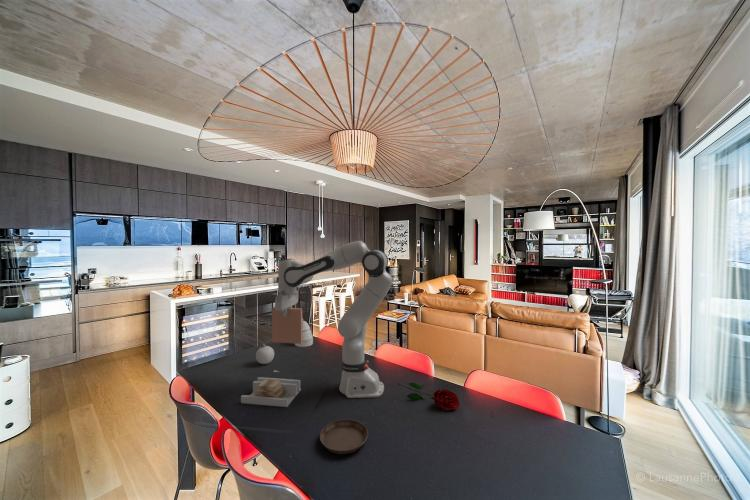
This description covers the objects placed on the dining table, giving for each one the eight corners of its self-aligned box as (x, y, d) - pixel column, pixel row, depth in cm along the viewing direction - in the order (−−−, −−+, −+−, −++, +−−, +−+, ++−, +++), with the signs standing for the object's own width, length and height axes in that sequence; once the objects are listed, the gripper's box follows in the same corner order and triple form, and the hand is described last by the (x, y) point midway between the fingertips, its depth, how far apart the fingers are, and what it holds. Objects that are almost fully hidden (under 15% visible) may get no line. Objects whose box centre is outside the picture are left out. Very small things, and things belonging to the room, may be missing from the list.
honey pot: (291, 345, 205) (290, 320, 204) (301, 339, 217) (301, 316, 217) (306, 347, 201) (306, 322, 200) (316, 341, 213) (316, 317, 213)
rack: (301, 390, 142) (301, 378, 142) (287, 409, 126) (286, 395, 126) (260, 387, 145) (260, 375, 145) (241, 405, 129) (240, 392, 129)
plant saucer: (344, 420, 118) (344, 413, 118) (377, 439, 107) (377, 431, 107) (309, 443, 105) (309, 435, 105) (343, 467, 94) (343, 458, 93)
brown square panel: (302, 342, 151) (302, 308, 150) (301, 343, 149) (300, 309, 148) (274, 340, 153) (273, 307, 153) (272, 342, 151) (271, 308, 151)
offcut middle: (282, 390, 135) (282, 385, 135) (276, 397, 129) (276, 392, 129) (263, 389, 137) (263, 384, 137) (256, 396, 131) (256, 390, 131)
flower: (396, 373, 137) (460, 392, 124) (401, 374, 144) (462, 393, 131) (391, 393, 133) (456, 415, 120) (397, 394, 141) (459, 414, 128)
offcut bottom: (284, 396, 135) (284, 391, 135) (278, 403, 129) (278, 397, 129) (261, 394, 137) (261, 389, 137) (254, 401, 131) (254, 395, 131)
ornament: (252, 365, 171) (252, 345, 171) (263, 359, 181) (263, 340, 181) (266, 367, 168) (266, 347, 168) (277, 360, 178) (277, 341, 178)
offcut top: (280, 385, 135) (280, 380, 135) (274, 392, 129) (274, 387, 129) (265, 384, 136) (265, 379, 136) (258, 391, 130) (258, 385, 130)
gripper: (283, 293, 140) (283, 321, 140) (300, 286, 160) (300, 311, 160) (271, 292, 141) (271, 320, 141) (289, 286, 161) (290, 311, 161)
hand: (287, 315), depth 151 cm, fingers closed on brown square panel, 2 cm apart
